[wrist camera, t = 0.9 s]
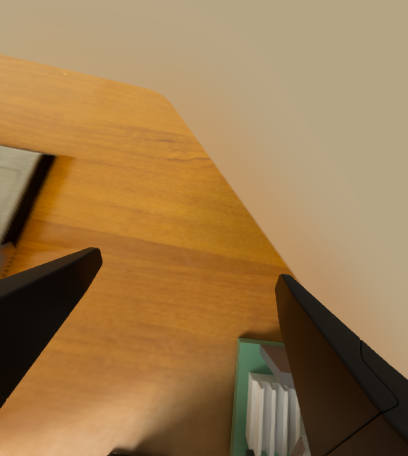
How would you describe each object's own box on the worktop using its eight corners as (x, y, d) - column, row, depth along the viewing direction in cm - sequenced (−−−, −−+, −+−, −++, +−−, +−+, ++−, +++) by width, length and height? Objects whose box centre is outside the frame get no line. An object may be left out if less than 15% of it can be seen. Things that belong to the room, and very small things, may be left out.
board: (304, 463, 17) (356, 563, 11) (229, 454, 17) (245, 550, 11) (304, 345, 19) (350, 380, 13) (238, 337, 19) (255, 369, 13)
